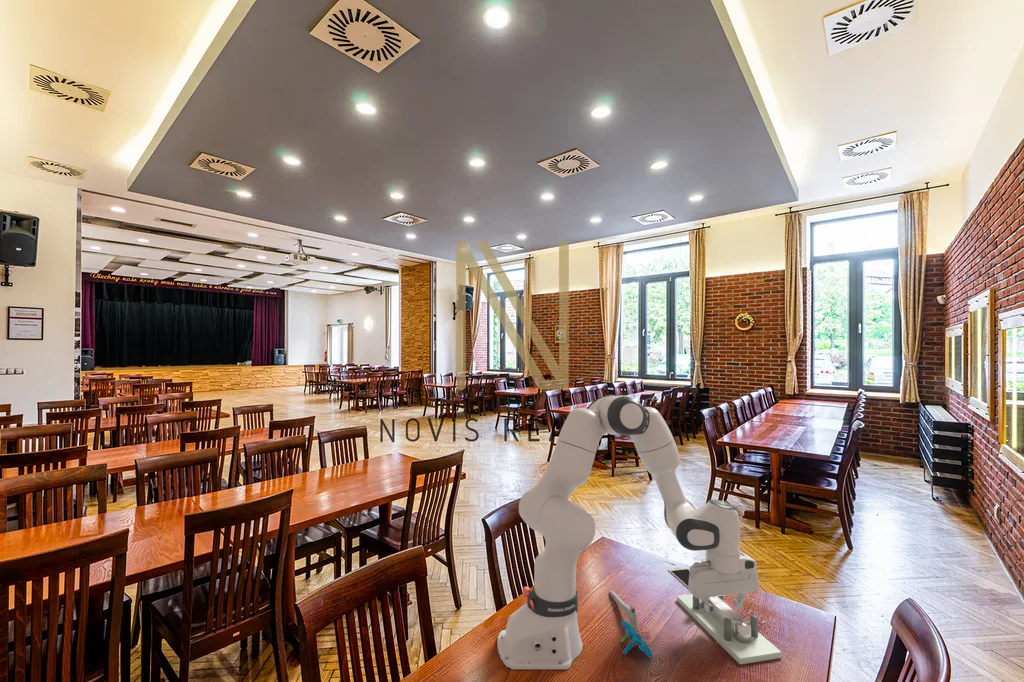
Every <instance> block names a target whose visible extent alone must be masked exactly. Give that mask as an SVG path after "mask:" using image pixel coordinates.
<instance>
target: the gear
mask: <svg viewBox="0 0 1024 682" xmlns="http://www.w3.org/2000/svg"><path fill="white" fill-rule="evenodd" d="M620 623H621V626H622V627H623V629H624V630H625V635H624V636H623V637H622V639H620V641H621V643H624V642H625V641H626V640H629V643H628V644H627V646H626V647H625V648H624V649H623V650H622V653H623V654H624V655H625V656H626V655H627V654H628V653H629V652H630V650H631V649H632V648H633V647H636V646H638V648H639V649H640V650H641V652H644V654H645V655H646V656H647V657H648V658H650V659H652V658H653V657H654V654H653V651H652V650H651V648H649V645H648V643H647V642H646V641H644V640H643V637H642V636H641V634H639V633H638V631H637V632H636V631H635V629H634V628H633V627H632V625H631V624H630V623H629V622H628V621H627V620H624V619H622V620H621V621H620Z"/></svg>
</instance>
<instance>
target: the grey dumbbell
mask: <svg viewBox="0 0 1024 682" xmlns="http://www.w3.org/2000/svg"><path fill="white" fill-rule="evenodd" d="M708 602H709V603H710V604H711V605H712V606H713V612H708V613H709V614H710V615H712V616H713V617H714V618H715V619H716V620H717V621H718V622H719V623H720V624H721V625H722V626H723V627H724V618H729V619H731V621H732V635H733V636H734V638H735V639H736V640H737V641H738V642H741V643H745V644H748V643H750V642H751V624H750V621H748V620H746V619H744V618H743V617H742V616H741V615H740V614H739V613H737V612H736V611H735V610H734V609H733V608H732V607H731V606H729V605H728V604H727V603H726V602H725V601H724V600H723V601H722V600H721V599H720V598H719V597H718V596H716V597H709V601H708ZM699 605H700V606H701V607H702V608H704V602H703V600H702V599H701V598H699ZM704 609H705V608H704Z"/></svg>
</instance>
